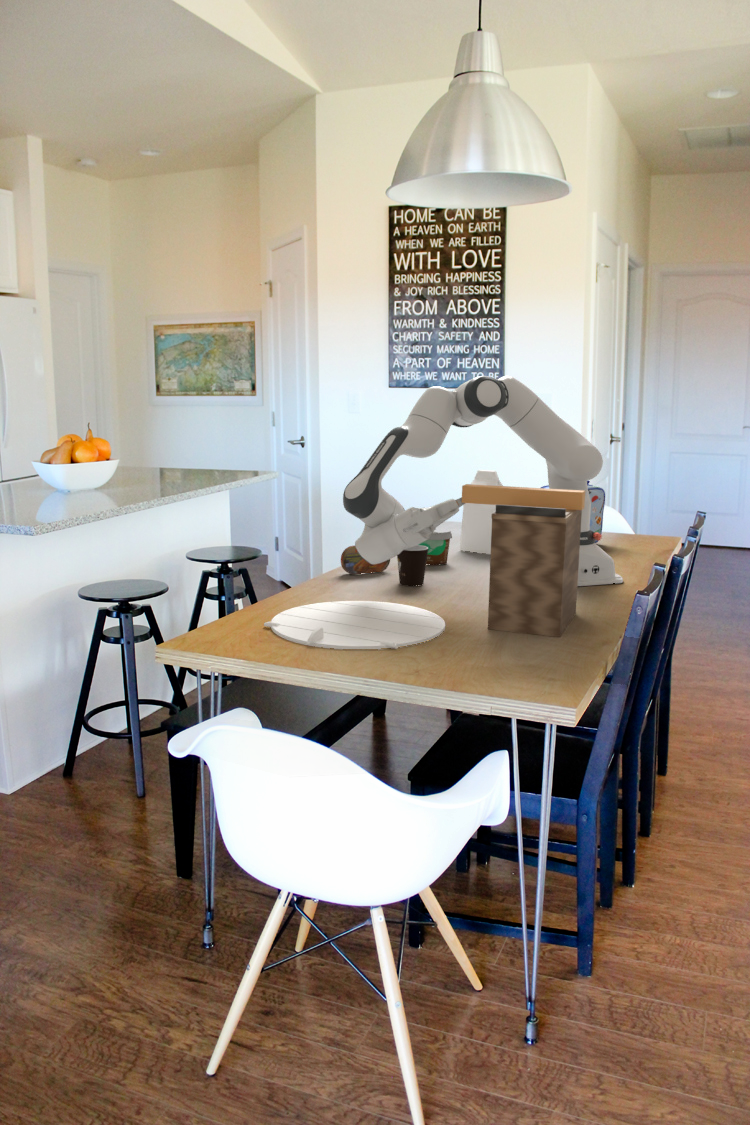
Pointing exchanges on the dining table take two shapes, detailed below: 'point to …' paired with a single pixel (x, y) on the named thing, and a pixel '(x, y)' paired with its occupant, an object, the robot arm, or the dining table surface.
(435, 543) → the food container
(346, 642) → the lazy susan
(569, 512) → the walnut stand
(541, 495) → the orange block
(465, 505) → the milk
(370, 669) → the dining table surface
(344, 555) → the tin
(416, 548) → the coffee mug
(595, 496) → the lunch box
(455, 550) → the dining table surface
